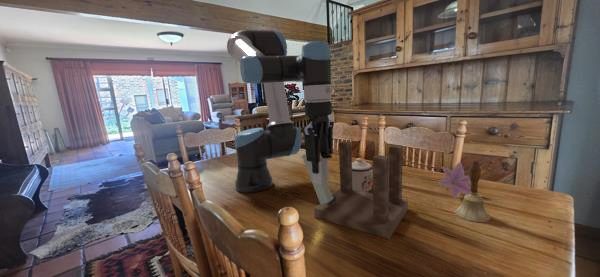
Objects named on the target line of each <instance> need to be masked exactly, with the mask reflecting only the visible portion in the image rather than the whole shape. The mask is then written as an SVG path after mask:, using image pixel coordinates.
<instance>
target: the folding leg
mask: <svg viewBox="0 0 600 277" xmlns="http://www.w3.org/2000/svg"><path fill="white" fill-rule="evenodd" d="M301 157H302V160H303V163H304V165H305V168H306V171H307V173H308V176H309V178H310V180H311V182H312V183H311V184H312V186H313V189H314V191H315V193H316V196H317V199H318V202H319V204H323V203H328V202H330V201H331V200H332V199H334V198H333V196H332V195H333V193H332V191H331V189H330V187H329V186H330V185H329V182H328V180H326V178H325V175H324V173H323V170H322V184H316V183H313V172H312V162H310V161H307V159H306V153H305V154H302V155H301Z"/></svg>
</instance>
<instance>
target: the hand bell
mask: <svg viewBox="0 0 600 277" xmlns="http://www.w3.org/2000/svg"><path fill="white" fill-rule="evenodd" d="M481 172H482V170H481V166H480V163H479V160H476V159H475V160H472V163H471V164H470V166H469V170H468V174H469V176H468V177H470V180H471V182H470V187H471V188H470V194H464V195H463V200H462V201H461V202H462V203H461V204H460V206H459V207H457V208H456V209H455V210H454V214H455V215H456V216H457V217H459V218H460V219H463V220H465V221H468V222H473V223H487V222H489V221H490V220H491V218H492V217H491V216H490V214H489V212H487V210H486V209H485V206H484V204H485V203H484V198H483V197H482V196H480V195H479V193H478V185H479V181H480V178H481V174H482V173H481Z"/></svg>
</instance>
